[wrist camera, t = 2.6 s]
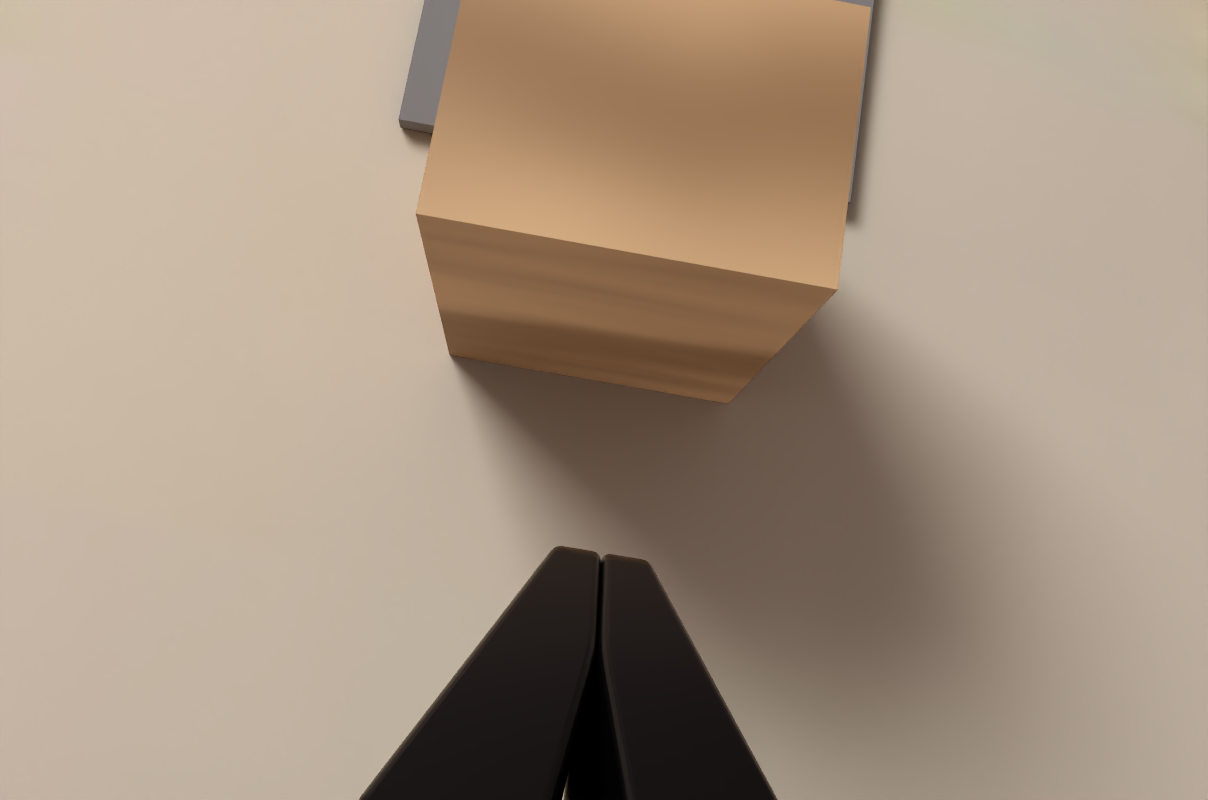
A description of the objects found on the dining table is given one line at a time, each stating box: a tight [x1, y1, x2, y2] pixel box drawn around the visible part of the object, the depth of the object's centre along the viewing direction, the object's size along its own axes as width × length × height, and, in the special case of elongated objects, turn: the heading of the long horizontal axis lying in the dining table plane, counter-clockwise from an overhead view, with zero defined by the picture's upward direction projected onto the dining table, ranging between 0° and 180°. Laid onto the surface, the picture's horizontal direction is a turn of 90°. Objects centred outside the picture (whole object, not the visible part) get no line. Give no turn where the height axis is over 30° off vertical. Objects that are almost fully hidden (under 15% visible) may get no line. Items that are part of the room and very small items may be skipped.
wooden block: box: [416, 0, 871, 404], centre depth 19 cm, size 4×6×8 cm
